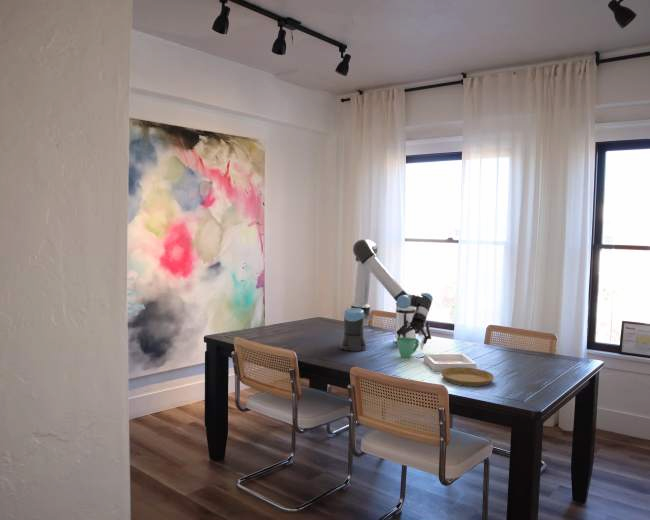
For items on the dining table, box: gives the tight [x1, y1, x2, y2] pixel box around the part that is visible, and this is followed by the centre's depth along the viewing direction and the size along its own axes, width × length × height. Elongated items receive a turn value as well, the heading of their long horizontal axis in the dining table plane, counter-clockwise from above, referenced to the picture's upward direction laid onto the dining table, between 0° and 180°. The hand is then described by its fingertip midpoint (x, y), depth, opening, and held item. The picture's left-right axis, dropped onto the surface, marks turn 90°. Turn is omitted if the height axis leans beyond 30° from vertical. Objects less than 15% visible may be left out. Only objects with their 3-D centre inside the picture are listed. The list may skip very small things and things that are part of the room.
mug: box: [396, 338, 419, 359], centre depth 295 cm, size 15×10×10 cm
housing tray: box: [423, 353, 477, 372], centre depth 275 cm, size 21×21×4 cm
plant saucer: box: [440, 367, 495, 387], centre depth 249 cm, size 24×24×3 cm
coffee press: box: [393, 302, 421, 342], centre depth 333 cm, size 17×16×30 cm
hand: (409, 346), depth 294 cm, fingers open, 13 cm apart
